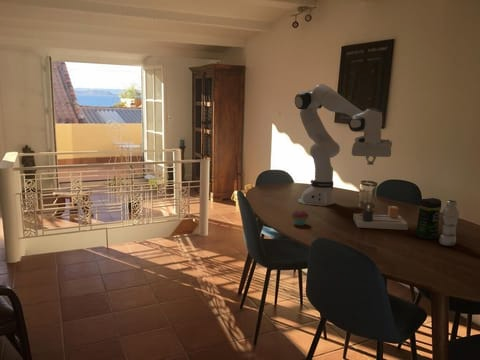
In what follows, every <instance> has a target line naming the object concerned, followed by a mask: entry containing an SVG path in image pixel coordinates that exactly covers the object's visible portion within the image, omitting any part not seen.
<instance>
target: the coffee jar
mask: <svg viewBox="0 0 480 360" xmlns="http://www.w3.org/2000/svg"><path fill="white" fill-rule="evenodd" d="M441 209H442V201H441V199H440V198H439V199H438V198H436V197H429V198H422V199H420V200H419V203H418V219H417V225H416V230H415V236H416V237H418V238H419V239H425V240H433V239H437V238H439V225H440V224H439V223H440V222H439V220H440V213H441Z"/></svg>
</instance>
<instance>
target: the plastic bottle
mask: <svg viewBox="0 0 480 360" xmlns="http://www.w3.org/2000/svg"><path fill="white" fill-rule="evenodd" d="M457 205H458V204H457V201H456V200H452V199H451V200H450V199H449V200H446V207H445V208H444V209H443V210H442V213H441V214H442V216H441V217H442V222H441V223H442V225H441V230H440V231H441V232H440V234H439V236H438V241H439V242H438V243H439V244H440V245H442V246H445V247H453V246H455V245H456V242H457V231H456V229H457V223H458V220H459V216H460V212H459V210H458V208H457Z"/></svg>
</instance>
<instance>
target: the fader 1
mask: <svg viewBox="0 0 480 360" xmlns="http://www.w3.org/2000/svg"><path fill="white" fill-rule="evenodd" d="M362 214H363V220H364V221H372V220H373V214H374V211H373V209H372V208H363V209H362Z"/></svg>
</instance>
